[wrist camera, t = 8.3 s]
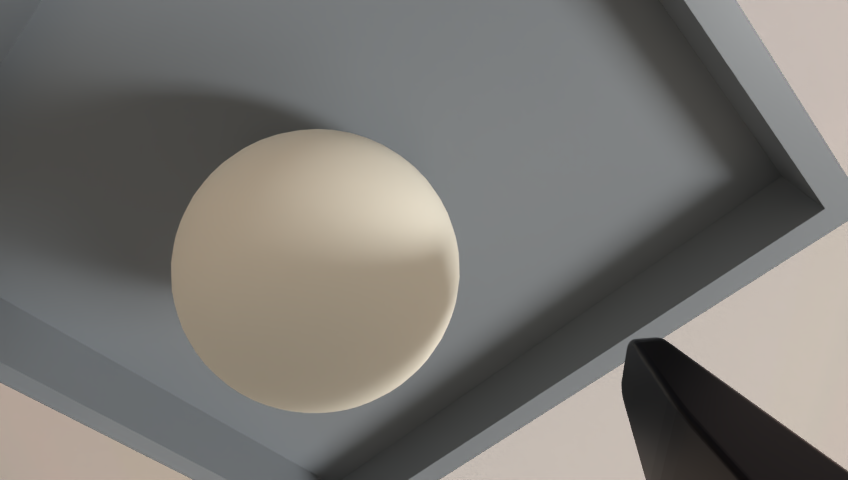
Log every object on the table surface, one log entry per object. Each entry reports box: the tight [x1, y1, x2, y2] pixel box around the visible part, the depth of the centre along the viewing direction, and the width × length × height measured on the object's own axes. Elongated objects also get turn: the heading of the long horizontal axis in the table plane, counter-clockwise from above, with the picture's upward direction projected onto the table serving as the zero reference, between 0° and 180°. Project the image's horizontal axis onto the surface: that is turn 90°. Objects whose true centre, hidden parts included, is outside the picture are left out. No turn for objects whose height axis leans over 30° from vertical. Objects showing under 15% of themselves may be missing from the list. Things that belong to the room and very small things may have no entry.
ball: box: [171, 129, 460, 413], centre depth 10 cm, size 5×5×5 cm
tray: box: [0, 0, 848, 480], centre depth 12 cm, size 16×14×2 cm
